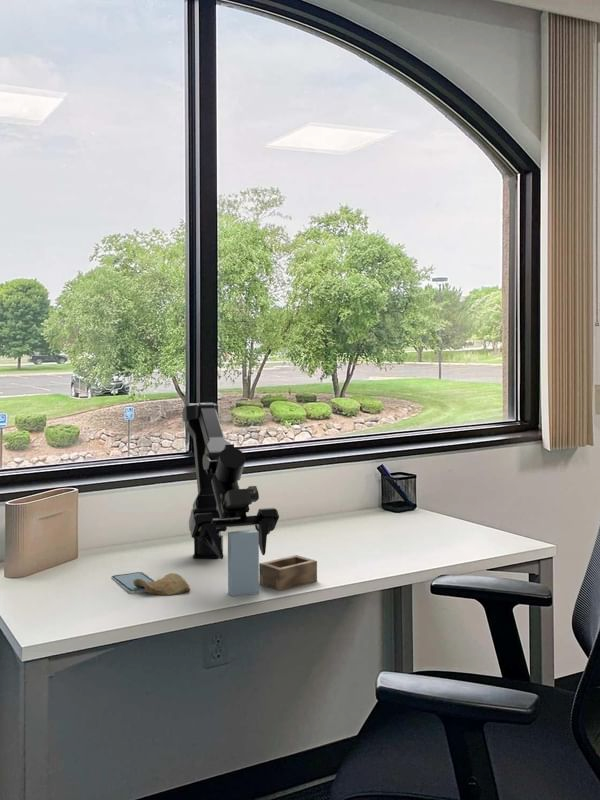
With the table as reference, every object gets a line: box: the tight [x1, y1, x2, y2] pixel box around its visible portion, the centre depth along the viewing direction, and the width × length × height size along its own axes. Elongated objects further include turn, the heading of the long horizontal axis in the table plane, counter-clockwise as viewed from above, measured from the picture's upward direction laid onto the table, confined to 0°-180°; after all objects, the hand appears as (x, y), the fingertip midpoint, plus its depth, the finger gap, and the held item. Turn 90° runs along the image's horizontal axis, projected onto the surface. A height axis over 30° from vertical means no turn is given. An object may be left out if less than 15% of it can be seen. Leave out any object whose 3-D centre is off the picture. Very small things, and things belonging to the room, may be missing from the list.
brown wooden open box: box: [259, 554, 318, 592], centre depth 173 cm, size 11×7×4 cm, turn 132°
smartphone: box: [110, 571, 155, 595], centre depth 173 cm, size 7×1×15 cm
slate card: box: [227, 529, 260, 597], centre depth 165 cm, size 6×2×13 cm, turn 112°
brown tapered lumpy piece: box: [133, 572, 191, 597], centre depth 168 cm, size 11×4×10 cm
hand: (243, 556), depth 165 cm, fingers open, 9 cm apart
